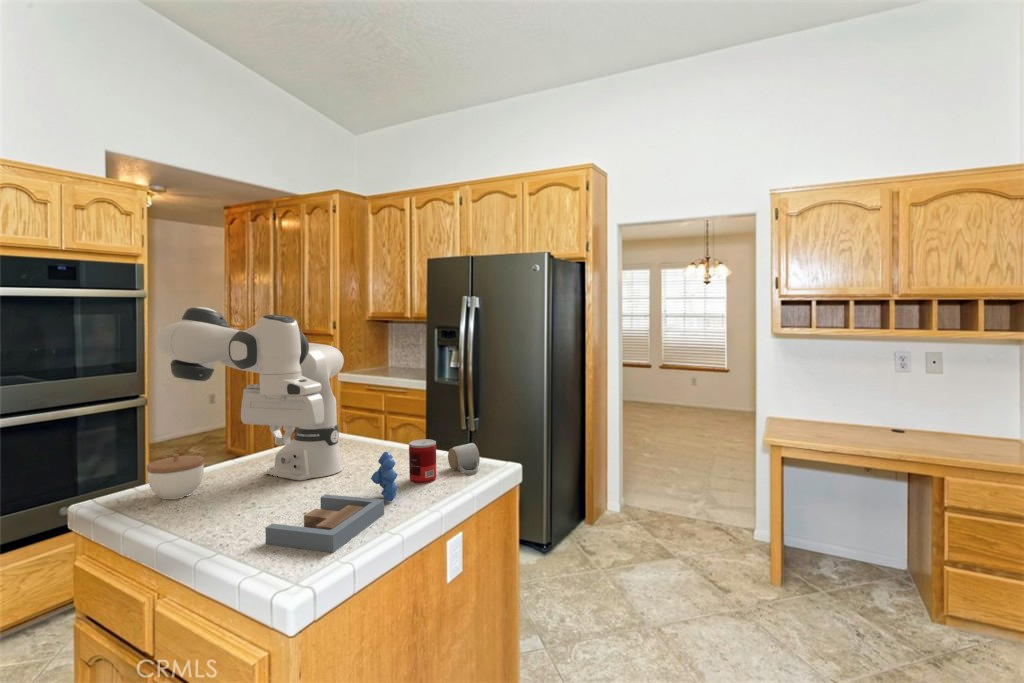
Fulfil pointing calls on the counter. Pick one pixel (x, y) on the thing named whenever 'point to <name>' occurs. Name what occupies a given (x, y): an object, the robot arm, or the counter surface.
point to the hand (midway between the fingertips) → (282, 444)
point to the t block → (328, 517)
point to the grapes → (386, 476)
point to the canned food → (422, 461)
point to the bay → (328, 538)
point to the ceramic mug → (464, 458)
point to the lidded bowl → (175, 475)
